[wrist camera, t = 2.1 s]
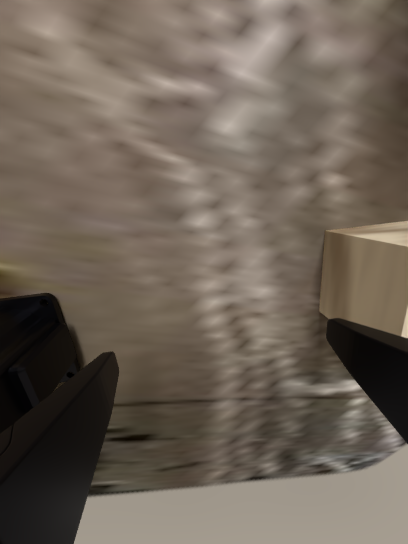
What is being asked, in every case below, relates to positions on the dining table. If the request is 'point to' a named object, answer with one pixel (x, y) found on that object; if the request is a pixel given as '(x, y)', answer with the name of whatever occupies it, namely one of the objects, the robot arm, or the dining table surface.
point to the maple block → (367, 276)
